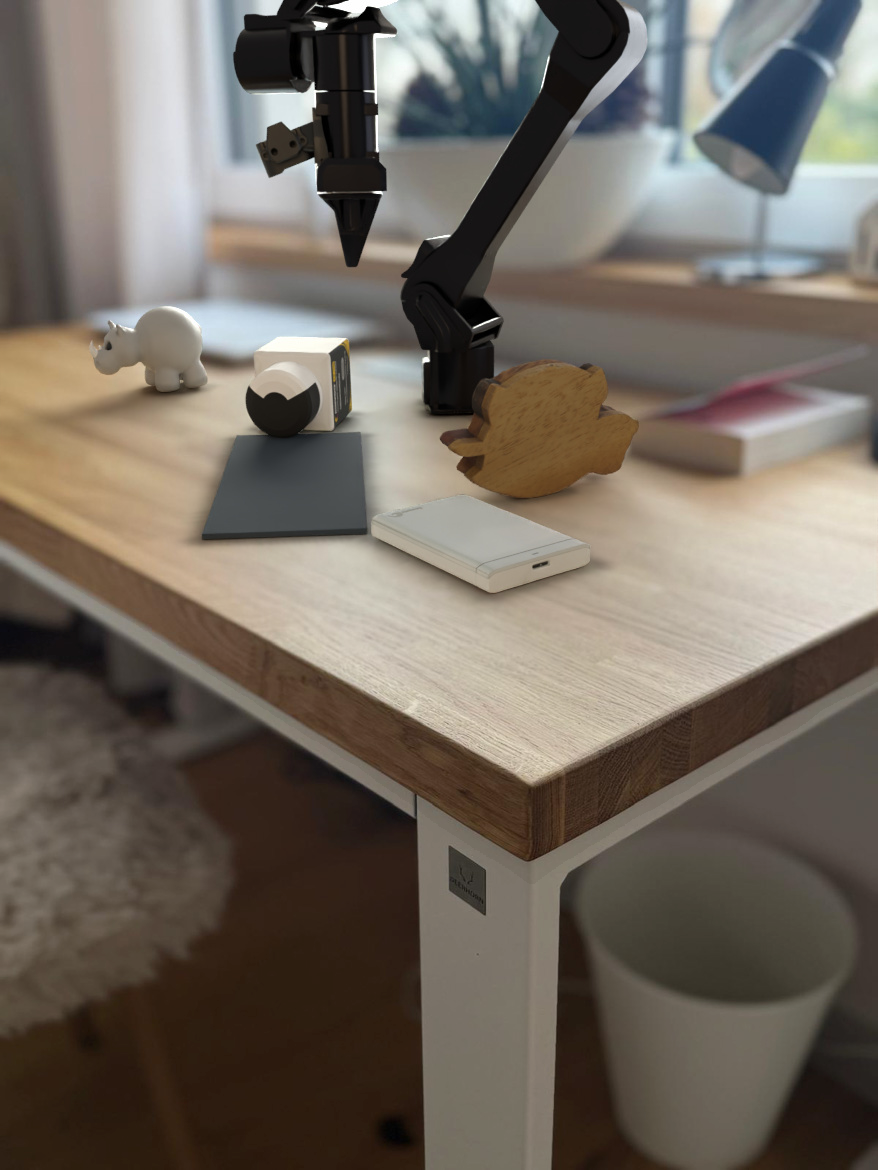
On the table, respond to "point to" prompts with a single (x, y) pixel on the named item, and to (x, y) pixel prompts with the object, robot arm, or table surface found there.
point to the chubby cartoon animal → (156, 349)
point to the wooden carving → (541, 430)
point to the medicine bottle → (300, 385)
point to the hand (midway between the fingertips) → (351, 266)
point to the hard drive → (480, 542)
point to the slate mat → (290, 487)
